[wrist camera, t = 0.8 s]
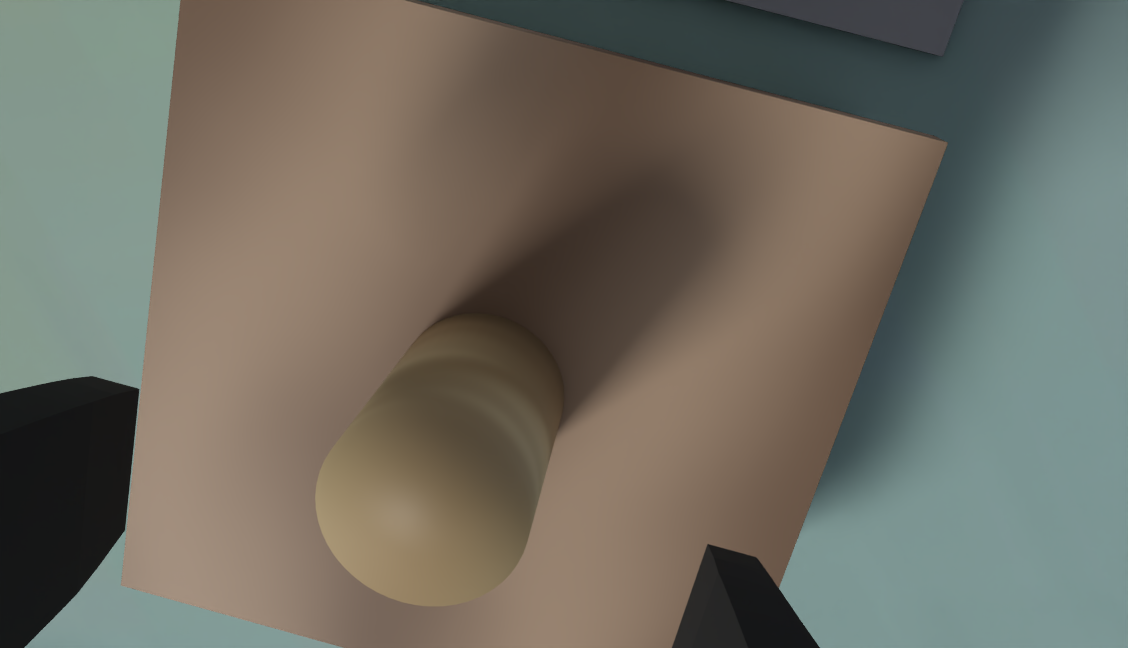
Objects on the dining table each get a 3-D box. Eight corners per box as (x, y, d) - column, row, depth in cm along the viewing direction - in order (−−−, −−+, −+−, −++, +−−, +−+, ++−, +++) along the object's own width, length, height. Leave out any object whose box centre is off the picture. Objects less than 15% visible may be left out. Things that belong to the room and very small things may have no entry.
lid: (924, 130, 15) (1051, 193, 10) (713, 699, 19) (727, 953, 14) (228, -52, 15) (10, -80, 10) (158, 546, 19) (-25, 739, 14)
